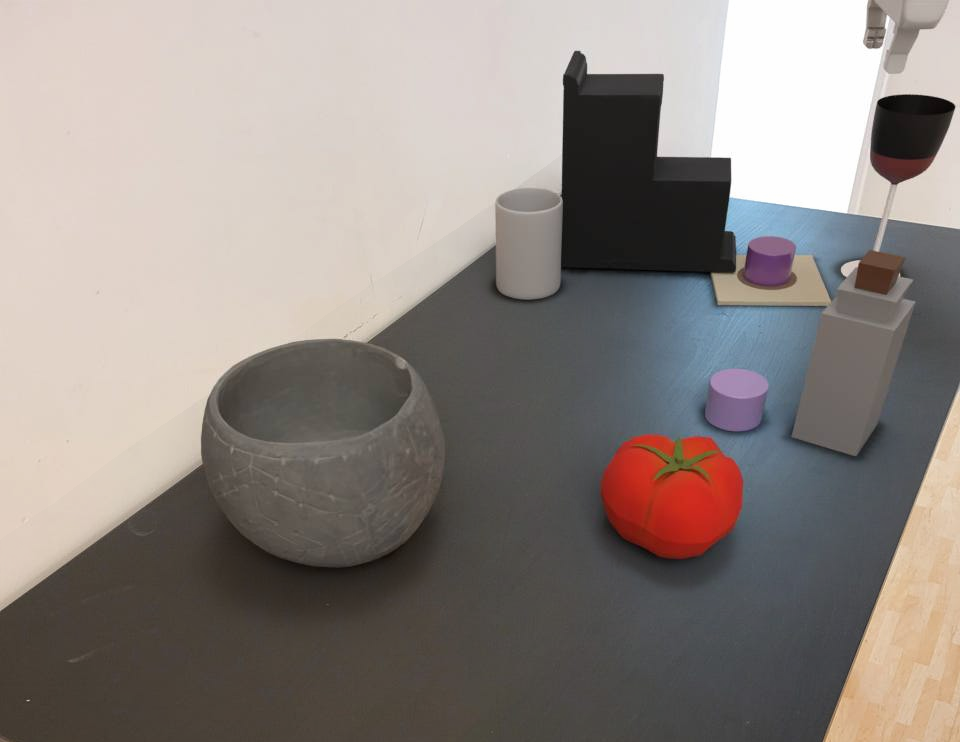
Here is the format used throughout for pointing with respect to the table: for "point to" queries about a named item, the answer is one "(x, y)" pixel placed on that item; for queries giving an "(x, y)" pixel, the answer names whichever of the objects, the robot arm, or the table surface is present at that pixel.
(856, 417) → the perfume bottle
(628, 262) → the bookend
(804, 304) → the placemat
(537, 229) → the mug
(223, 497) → the bowl
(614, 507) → the tomato
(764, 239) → the squat plum drum
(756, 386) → the lilac cylinder
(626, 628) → the table surface
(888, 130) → the wineglass
